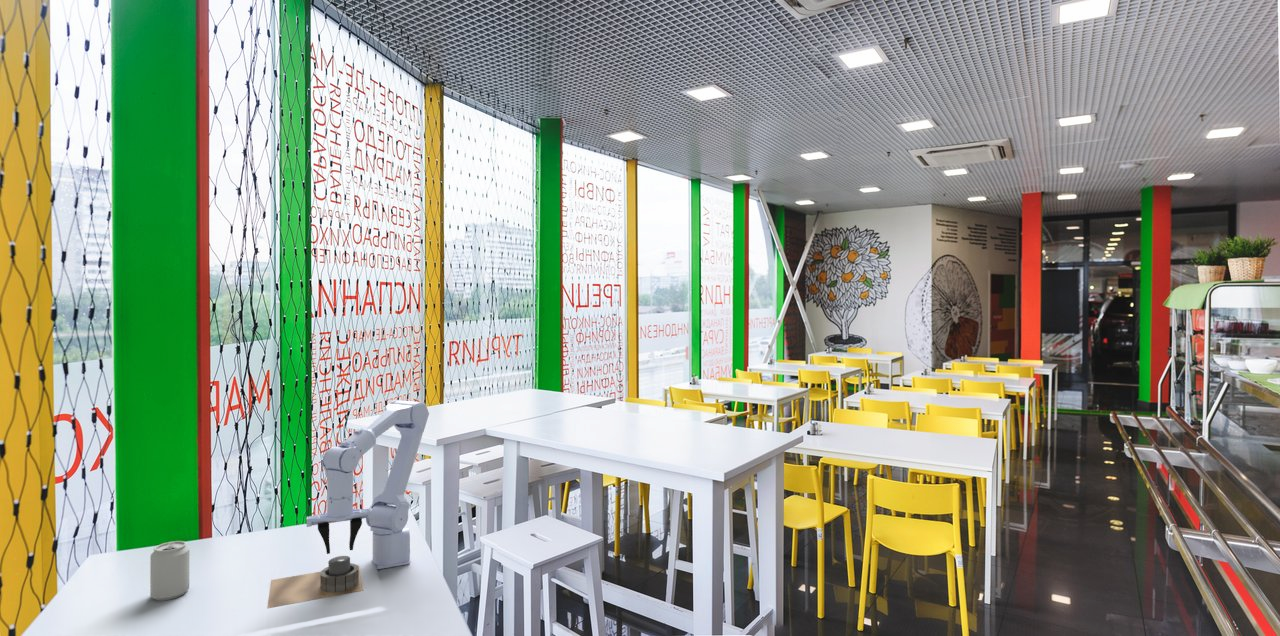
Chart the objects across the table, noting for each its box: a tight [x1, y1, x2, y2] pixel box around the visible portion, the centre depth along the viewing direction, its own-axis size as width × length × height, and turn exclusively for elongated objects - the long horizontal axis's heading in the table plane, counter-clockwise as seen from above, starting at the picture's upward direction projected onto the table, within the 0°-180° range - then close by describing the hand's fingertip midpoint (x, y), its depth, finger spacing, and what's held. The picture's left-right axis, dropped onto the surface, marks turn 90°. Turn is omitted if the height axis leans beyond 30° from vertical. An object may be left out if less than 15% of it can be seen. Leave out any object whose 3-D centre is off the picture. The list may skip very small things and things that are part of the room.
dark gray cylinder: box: [327, 555, 351, 576], centre depth 152 cm, size 5×5×6 cm
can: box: [149, 540, 190, 601], centre depth 148 cm, size 8×8×12 cm
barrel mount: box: [267, 562, 364, 609], centre depth 152 cm, size 20×16×4 cm
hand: (339, 550), depth 152 cm, fingers open, 4 cm apart
